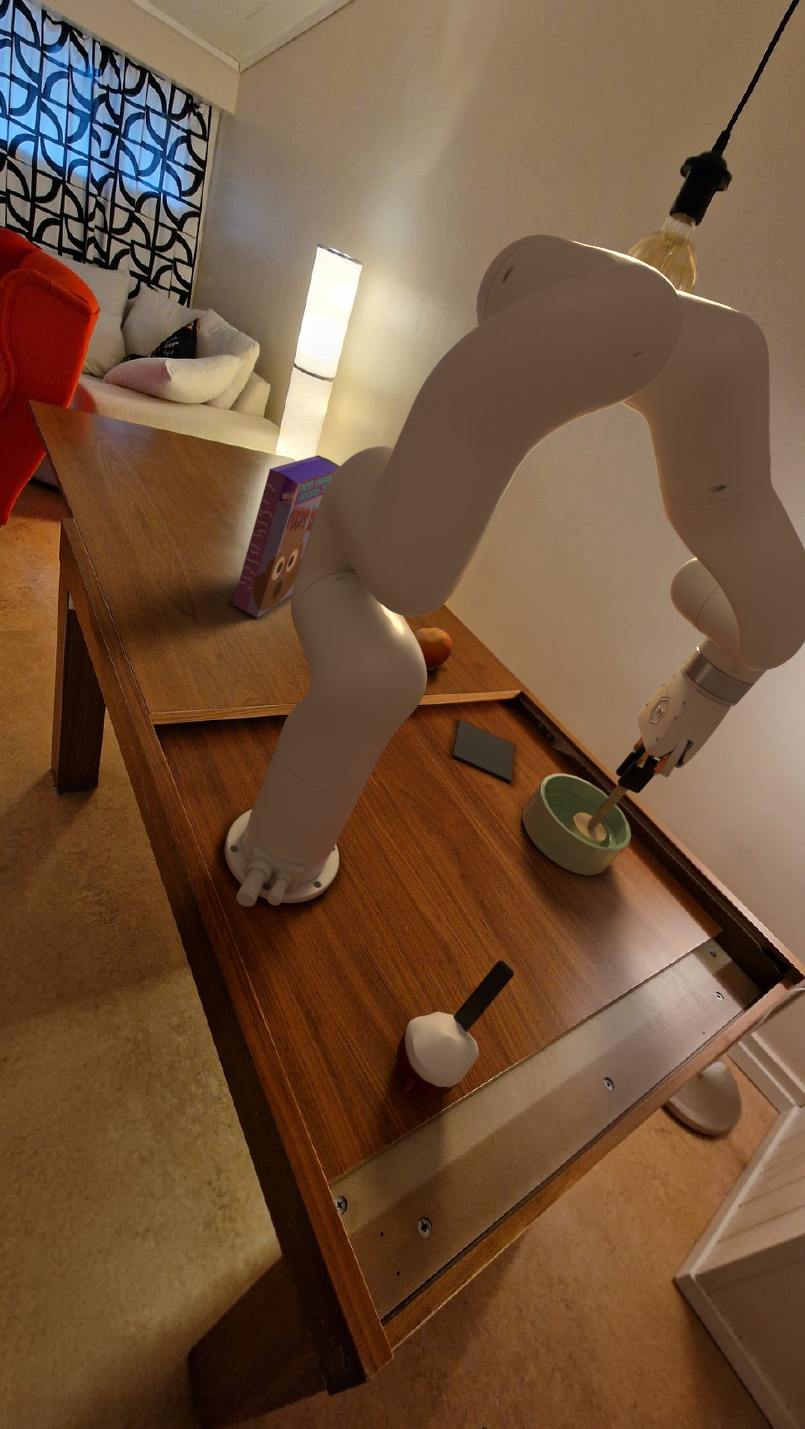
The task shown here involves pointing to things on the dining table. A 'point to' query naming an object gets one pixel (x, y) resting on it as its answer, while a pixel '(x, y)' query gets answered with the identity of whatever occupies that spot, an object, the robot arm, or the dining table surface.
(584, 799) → the bowl
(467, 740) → the mat
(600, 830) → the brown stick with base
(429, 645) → the fruit
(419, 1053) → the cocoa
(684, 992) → the dining table surface
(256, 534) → the cereal box
